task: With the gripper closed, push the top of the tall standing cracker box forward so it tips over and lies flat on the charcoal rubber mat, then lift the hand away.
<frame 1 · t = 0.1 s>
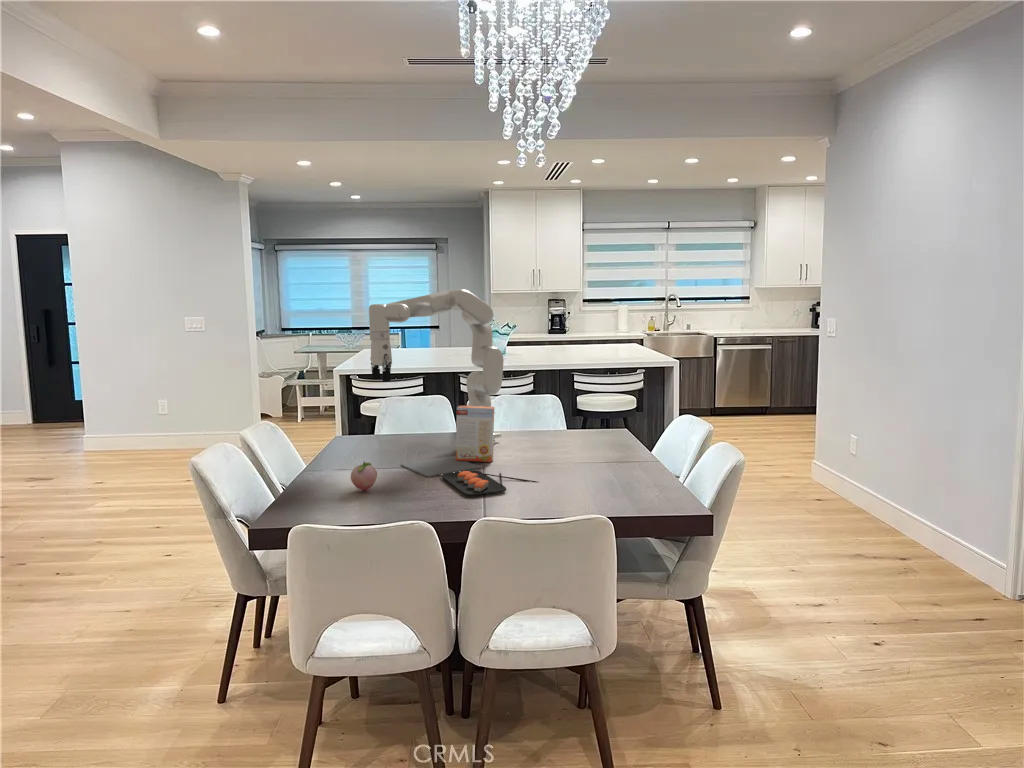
hand: (381, 380, 274), 31 cm above the table, tool pointing down, fingers open, 9 cm apart
decorative fruit: (364, 491, 231), on the table
mat: (440, 466, 263), on the table
cracker box: (474, 460, 271), on the table, touching mat
sushi plate: (494, 484, 239), on the table
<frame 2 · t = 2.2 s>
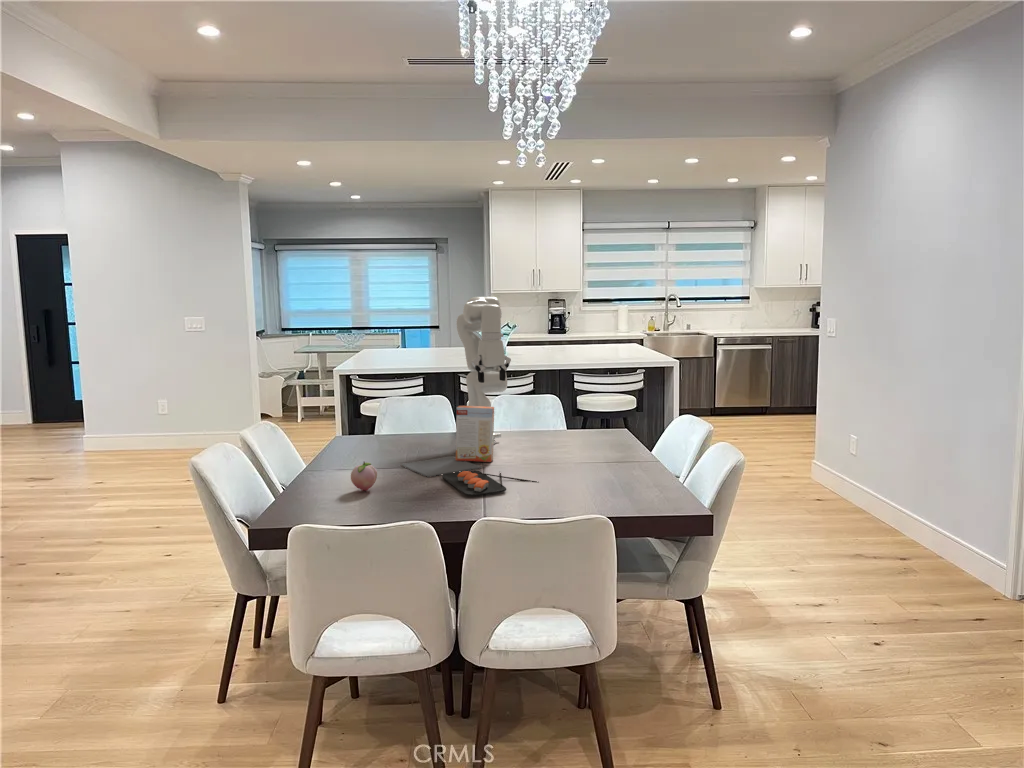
hand: (491, 381, 272), 30 cm above the table, tool pointing down, fingers open, 9 cm apart
nothing on the table moved.
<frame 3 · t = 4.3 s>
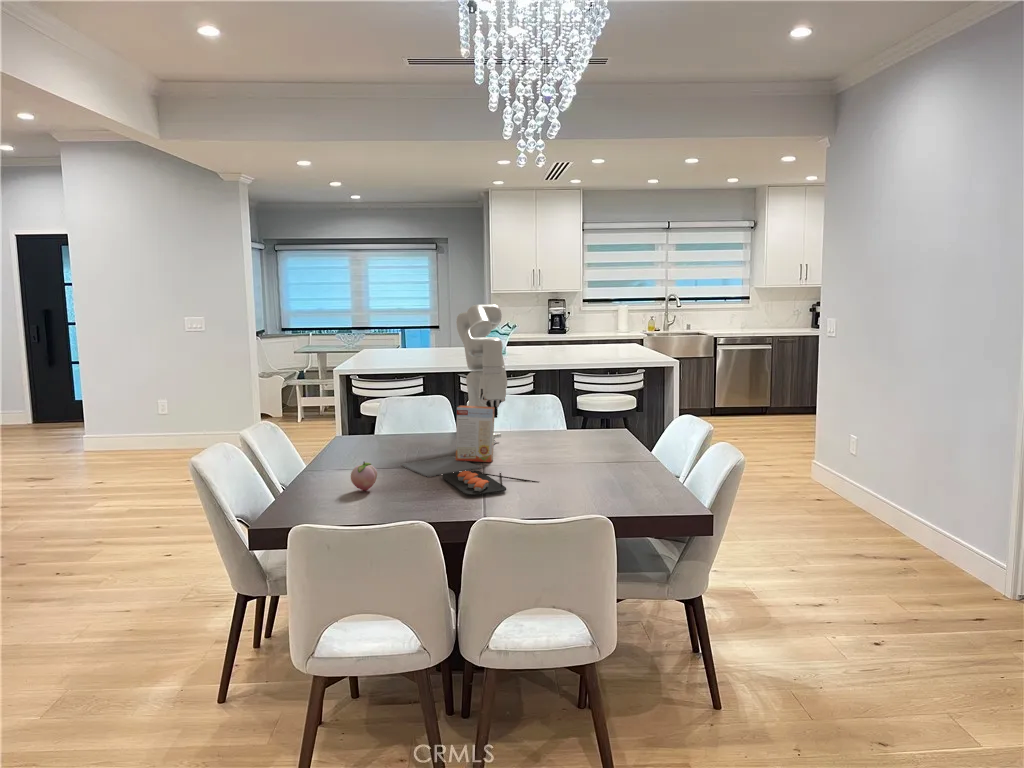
hand: (493, 417, 274), 16 cm above the table, tool pointing down, fingers closed
cracker box: (474, 460, 271), on the table, touching gripper, mat
everything else where it was.
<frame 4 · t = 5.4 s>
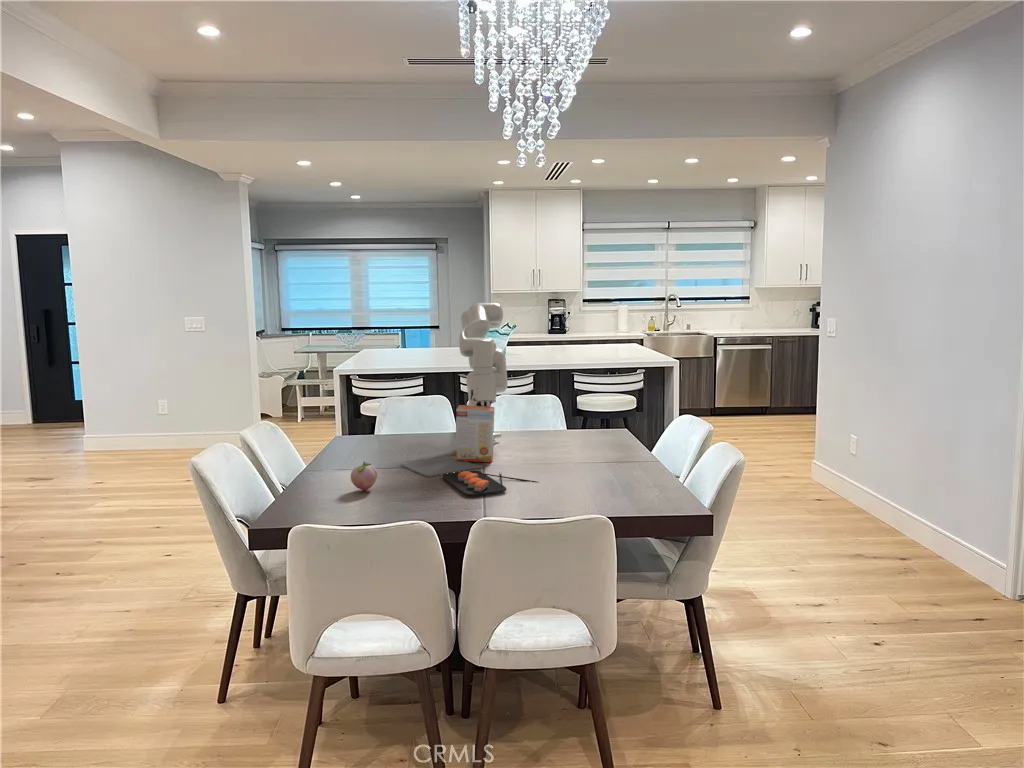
hand: (483, 418, 271), 16 cm above the table, tool pointing down, fingers closed
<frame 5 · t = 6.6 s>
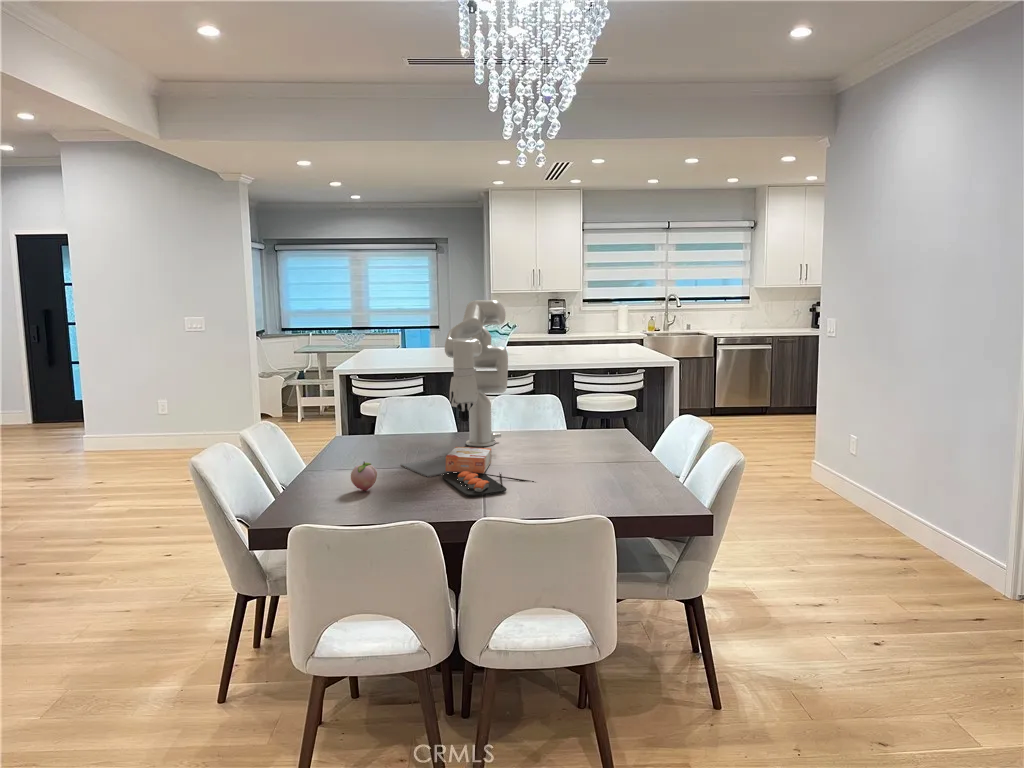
hand: (464, 420, 267), 16 cm above the table, tool pointing down, fingers closed
cracker box: (473, 453, 268), point 3 cm above the table, touching mat
everything else where it was.
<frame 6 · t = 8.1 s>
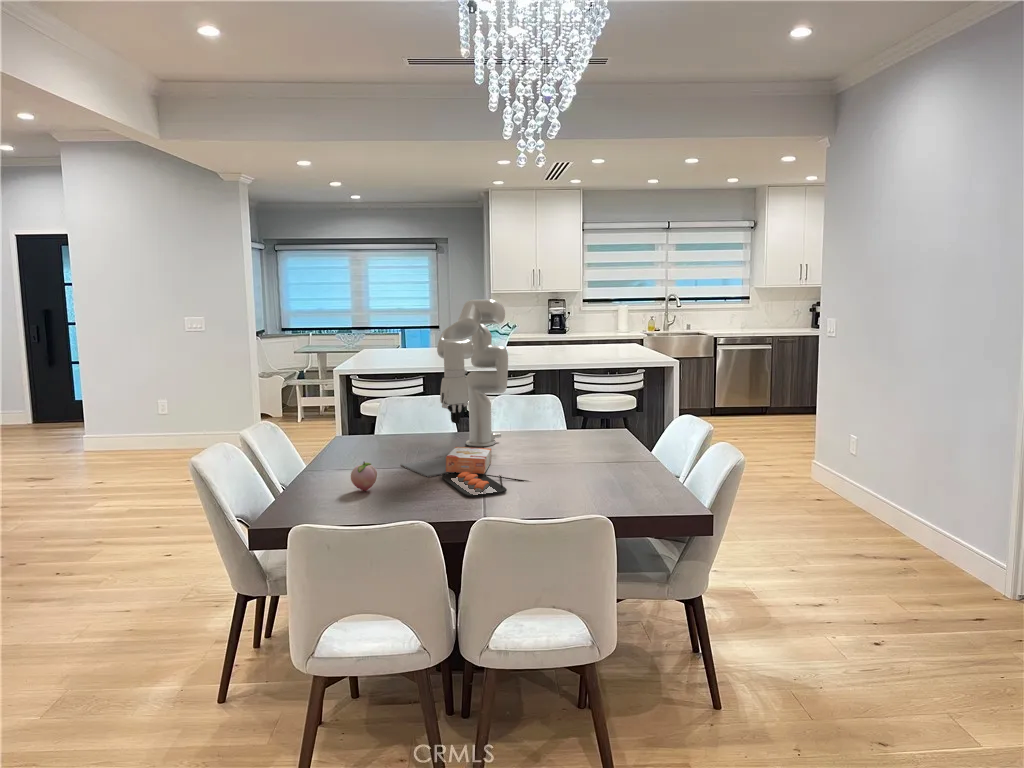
hand: (455, 422, 264), 16 cm above the table, tool pointing down, fingers closed
cracker box: (473, 454, 267), point 4 cm above the table, touching mat, sushi plate
sushi plate: (494, 485, 239), on the table, touching cracker box
everything else where it was.
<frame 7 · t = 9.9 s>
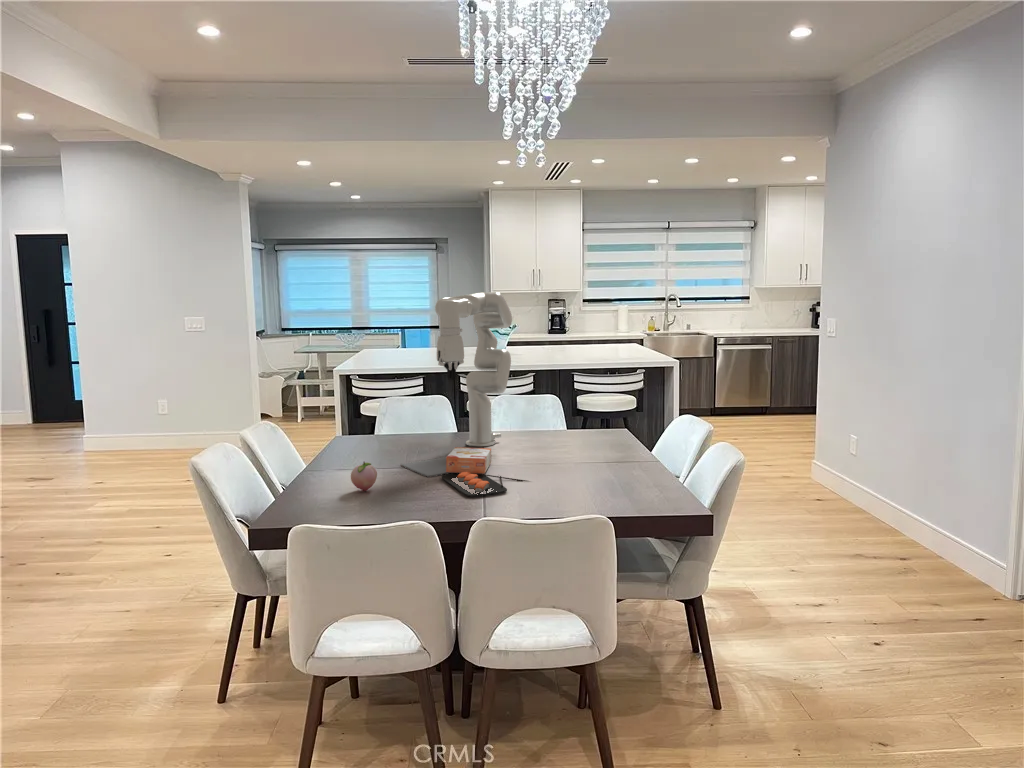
hand: (451, 379, 271), 31 cm above the table, tool pointing down, fingers closed
nothing on the table moved.
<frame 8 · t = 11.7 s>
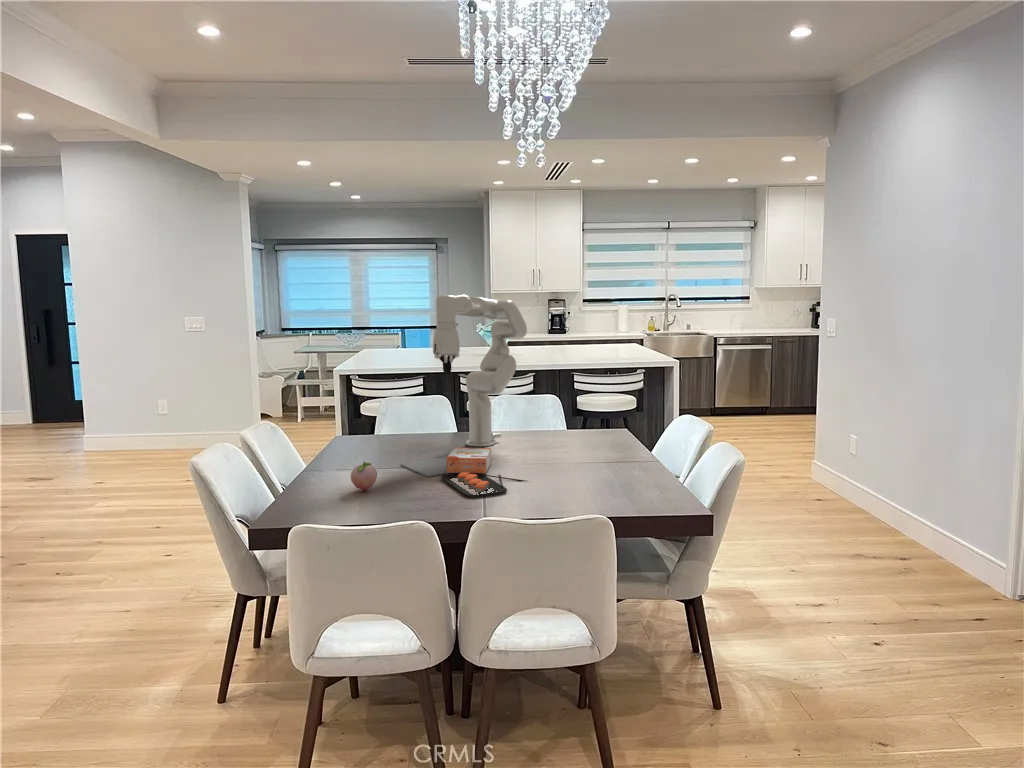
hand: (447, 372, 281), 33 cm above the table, tool pointing down, fingers closed
nothing on the table moved.
at the end: cracker box tilted 88°; cracker box touching mat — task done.
